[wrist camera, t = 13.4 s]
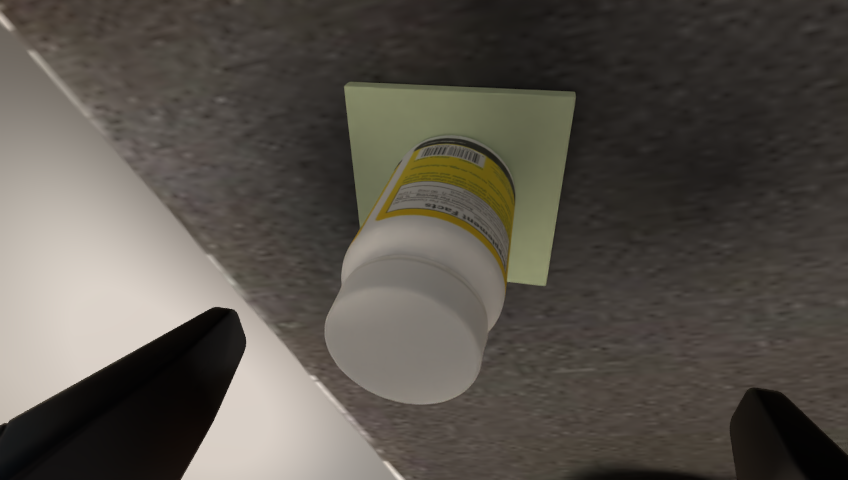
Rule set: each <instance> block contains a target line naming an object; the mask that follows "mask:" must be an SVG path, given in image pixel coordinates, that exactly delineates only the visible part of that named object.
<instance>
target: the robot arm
mask: <svg viewBox="0 0 848 480" xmlns="http://www.w3.org/2000/svg"><path fill="white" fill-rule="evenodd" d="M245 347H246V337H245V334H244V331H243V328H242V325H241V323H240V319H239V316H238V314H237V312H236V311H235V310H233V309H228V308H221V307H214V308H211V309H209V310H207V311H205V312H204V313H202V314H200V315H198V316H196V317H195V318H193V319H191V320H189V321H188V322H186V323H184V324H182V325H181V326H179V327H177V328H175V329H173V330H172V331H169V332H168V333H166V334H164V335H162V336H161V337H159V338H157V339H155V340H153V341H152V342H150V343H148V344H146V345H144V346H142V347H141V348H139V349H137V350H135V351H133V352H132V353H130V354H128V355H126V356H125V357H123V358H121V359H119V360H117V361H116V362H114V363H112V364H110V365H108V366H107V367H105V368H103V369H101V370H99V371H98V372H96V373H94V374H92V375H90V376H89V377H87V378H85V379H83V380H81V381H80V382H78V383H76V384H74V385H72V386H71V387H69V388H67V389H65V390H63V391H61V392H60V393H58V394H56V395H54V396H52V397H51V398H49V399H47V400H45V401H43V402H42V403H40V404H38V405H36V406H35V407H33V408H31V409H29V410H27V411H25V412H24V413H22V414H20V415H18V416H16V417H15V418H13V419H11V420H10V421H9V422H8V423H4V424H2V425H0V480H181V478H182V477H183V475H184V473H185V471H186V469H187V468H188V466H189V464H190V462H191V460H192V459H193V457H194V455H195V454H196V452H197V450H198V448H199V446H200V445H201V443H202V441H203V439H204V438H205V436H206V434H207V432H208V430H209V428H210V427H211V425H212V423H213V421H214V419H215V417H216V414H217V412H218V410H219V408H220V406H221V404H222V401H223V399H224V397H225V394H226V392H227V390H228V388H229V385H230V383H231V381H232V379H233V376H234V374H235V372H236V369H237V367H238V365H239V363H240V360H241V358H242V356H243V353H244V351H245ZM730 436H731V443H732V450H733V456H734V463H735V470H736V476H737V480H848V455H847V454H846V453H845V452H844V451H843V450H842V449H841V448H840V447H839V446H838V445H836V444H835V443H834V442H833V441H832V440H831V439H830V438H829V437H828V436H827V435H826V434H825V433H824V432H823V431H822V430H821V429H820V428H819V427H818V426H817V425H816V424H814V423H813V422H812V421H811V420H810V419H809V418H808V417H807V416H806V415H805V414H804V413H803V412H802V411H801V410H800V409H799V408H798V407H797V406H796V405H795V404H794V403H792V402H791V401H790V400H789V399H788V398H787V397H786V396H785V395H784V394H782V393H781V392H778V391H774V390H768V389H761V388H750V389H748V390H747V391H746V393H745V394H744V396H743V398H742V400H741V402H740V403H739V405H738V407H737V409H736V411H735V412H734V414H733V416H732V418H731V422H730Z"/></svg>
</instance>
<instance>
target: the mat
mask: <svg viewBox="0 0 848 480" xmlns="http://www.w3.org/2000/svg"><path fill="white" fill-rule="evenodd" d="M344 91H345V100H346V109H347V117H348V126H349V135H350V144H351V153H352V161H353V170H354V179H355V188H356V197H357V205H358V214H359V223H360V228H361V227H362V225H363V223H364V222H365V220H366V218H367V217H368V215H369V213H370V212H371V210H372V208H373V206H374V205H375V203H376V201H377V200H378V198H379V196H380V194H381V193H382V191H383V189H384V187H385V186H386V184H387V182H388V180H389V179H390V177H391V175H392V174H393V172H394V170H395V168H396V167H397V165H398V164H399V162H400V161H401V159H402V158H403V157H404V155H405V154H406V153H407V152H408V151H409V150H411V149H412V148H413V147H414V146H416V145H417V144H419V143H421V142H423V141H425V140H427V139H430V138H433V137H437V136H445V135H455V136H463V137H467V138H471V139H473V140H476V141H478V142H480V143H482V144H484V145H486V146H487V147H489V148H490V149H492V150H493V151H494V152H495V153H496V154H497V155H498V156H499V157H500V158H501V159H502V160H503V161H504V163H505V164H506V166H507V167H508V169H509V171H510V173H511V175H512V178H513V181H514V185H515V209H514V219H513V228H512V237H511V246H510V256H509V265H508V275H507V282H514V283H523V284H531V285H539V286H546V282H547V276H548V269H549V263H550V257H551V251H552V244H553V238H554V232H555V226H556V219H557V213H558V207H559V201H560V194H561V188H562V182H563V176H564V169H565V163H566V157H567V151H568V144H569V138H570V132H571V126H572V119H573V113H574V107H575V101H576V95H575V92H570V91H547V90H525V89H503V88H480V87H458V86H436V85H413V84H391V83H369V82H349V83H347V84H346V85H345V86H344Z"/></svg>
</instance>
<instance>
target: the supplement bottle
mask: <svg viewBox="0 0 848 480" xmlns="http://www.w3.org/2000/svg"><path fill="white" fill-rule="evenodd" d="M514 209H515V185H514V181H513V178H512V175H511V173H510V171H509V169H508V167H507V166H506V164H505V163H504V161H503V160H502V159H501V158H500V157H499V156H498V155H497V154H496V153H495V152H494V151H493V150H492V149H490V148H489V147H487V146H486V145H484V144H482V143H480V142H478V141H476V140H473V139H471V138H467V137H463V136H455V135H445V136H437V137H433V138H430V139H427V140H425V141H423V142H421V143H419V144H417V145H416V146H414V147H413V148H412V149H411V150H409V151H408V152H407V153H406V154H405V155H404V157H403V158H402V159H401V161H400V162H399V164H398V165H397V167H396V168H395V170H394V172H393V174H392V175H391V177H390V179H389V180H388V182H387V184H386V186H385V187H384V189H383V191H382V193H381V194H380V196H379V198H378V200H377V201H376V203H375V205H374V206H373V208H372V210H371V212H370V213H369V215H368V217H367V218H366V220H365V222H364V223H363V225H362V227H361V228H360V230H359V231H358V233H357V235H356V236H355V238H354V240H353V241H352V243H351V245H350V246H349V248H348V250H347V252H346V254H345V257H344V261H343V266H342V273H341V281H342V287H341V289H340V291H339V293H338V295H337V297H336V299H335V301H334V303H333V305H332V307H331V309H330V311H329V313H328V315H327V319H326V322H325V340H326V344H327V347H328V350H329V352H330V355H331V356H332V358H333V359H334V361H335V362H336V364H337V365H338V367H339V368H340V369H341V370H342V371H343V372H344V373H345V374H346V375H347V376H348V377H349V378H350V379H352V380H353V381H354V382H355V383H357V384H358V385H360V386H361V387H363V388H364V389H366V390H368V391H370V392H372V393H374V394H376V395H378V396H381V397H383V398H386V399H389V400H393V401H397V402H402V403H408V404H434V403H439V402H444V401H447V400H450V399H452V398H455V397H457V396H459V395H460V394H462V393H463V392H465V391H466V390H467V389H468V388H469V387H470V386H471V385H472V384H473V382H474V381H475V379H476V377H477V375H478V373H479V371H480V368H481V363H482V358H483V353H484V348H485V345H486V342H487V337H488V332H489V331H490V330H491V329H492V327H493V326H494V325H495V323H496V321H497V320H498V318H499V316H500V313H501V311H502V307H503V304H504V299H505V293H506V285H507V275H508V265H509V256H510V246H511V237H512V228H513V219H514Z"/></svg>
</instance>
